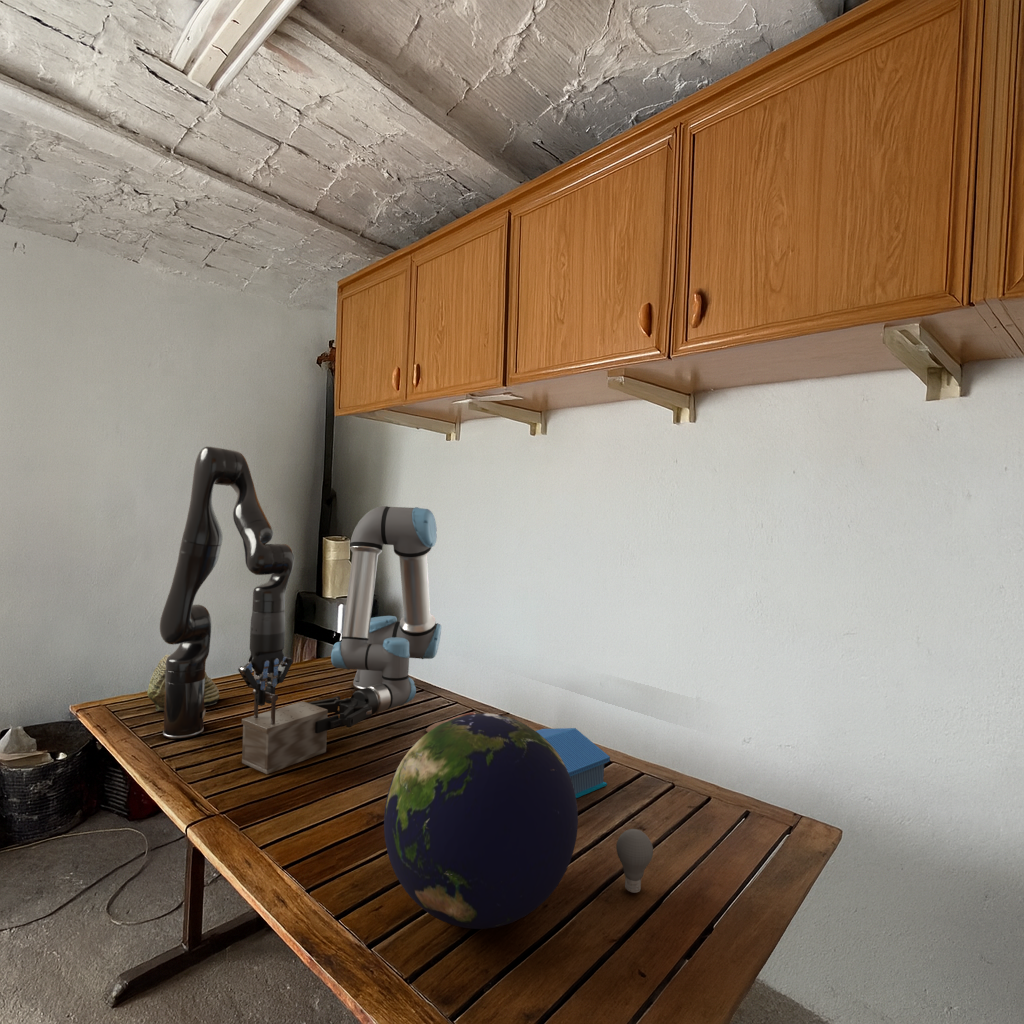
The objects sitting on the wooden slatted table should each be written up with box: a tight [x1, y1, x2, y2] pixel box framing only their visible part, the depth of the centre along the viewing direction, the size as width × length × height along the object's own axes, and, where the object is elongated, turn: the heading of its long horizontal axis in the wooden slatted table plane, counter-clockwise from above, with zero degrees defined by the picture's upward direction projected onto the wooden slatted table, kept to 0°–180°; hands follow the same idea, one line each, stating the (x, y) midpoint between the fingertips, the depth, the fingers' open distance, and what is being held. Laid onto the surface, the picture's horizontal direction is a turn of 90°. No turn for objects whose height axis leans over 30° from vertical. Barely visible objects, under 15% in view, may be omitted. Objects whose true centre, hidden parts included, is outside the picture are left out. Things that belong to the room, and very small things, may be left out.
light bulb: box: [615, 828, 654, 894], centre depth 106 cm, size 6×6×10 cm
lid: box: [241, 689, 329, 734], centre depth 152 cm, size 17×10×8 cm, turn 146°
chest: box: [241, 713, 329, 775], centre depth 153 cm, size 17×10×9 cm, turn 146°
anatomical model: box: [425, 711, 477, 733], centre depth 175 cm, size 13×4×12 cm
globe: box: [383, 712, 579, 930], centre depth 99 cm, size 30×30×30 cm
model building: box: [535, 727, 611, 799], centre depth 138 cm, size 39×24×10 cm, turn 132°
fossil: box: [147, 654, 221, 712], centre depth 185 cm, size 9×18×15 cm, turn 132°
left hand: (265, 703), depth 147 cm, fingers closed on lid
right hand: (302, 722), depth 156 cm, fingers closed on chest, 10 cm apart
